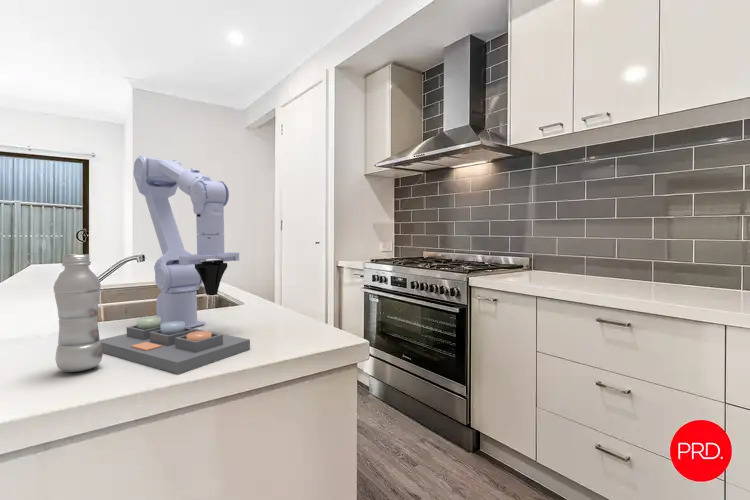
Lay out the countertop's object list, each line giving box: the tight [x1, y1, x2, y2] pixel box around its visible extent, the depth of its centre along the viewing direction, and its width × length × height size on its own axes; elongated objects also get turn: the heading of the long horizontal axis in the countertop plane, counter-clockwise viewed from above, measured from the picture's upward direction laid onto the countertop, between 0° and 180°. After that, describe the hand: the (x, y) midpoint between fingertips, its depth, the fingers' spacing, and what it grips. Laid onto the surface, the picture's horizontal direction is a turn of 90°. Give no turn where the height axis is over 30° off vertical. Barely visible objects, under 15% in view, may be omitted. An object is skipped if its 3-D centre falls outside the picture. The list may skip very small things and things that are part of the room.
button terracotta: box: [186, 330, 212, 341], centre depth 77 cm, size 4×4×2 cm
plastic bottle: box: [53, 253, 104, 373], centre depth 69 cm, size 6×7×20 cm
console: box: [99, 323, 251, 375], centre depth 81 cm, size 26×16×4 cm, turn 61°
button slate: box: [160, 321, 185, 335], centre depth 81 cm, size 4×4×2 cm
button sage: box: [136, 316, 161, 330], centre depth 85 cm, size 4×4×2 cm
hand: (211, 294), depth 91 cm, fingers closed
